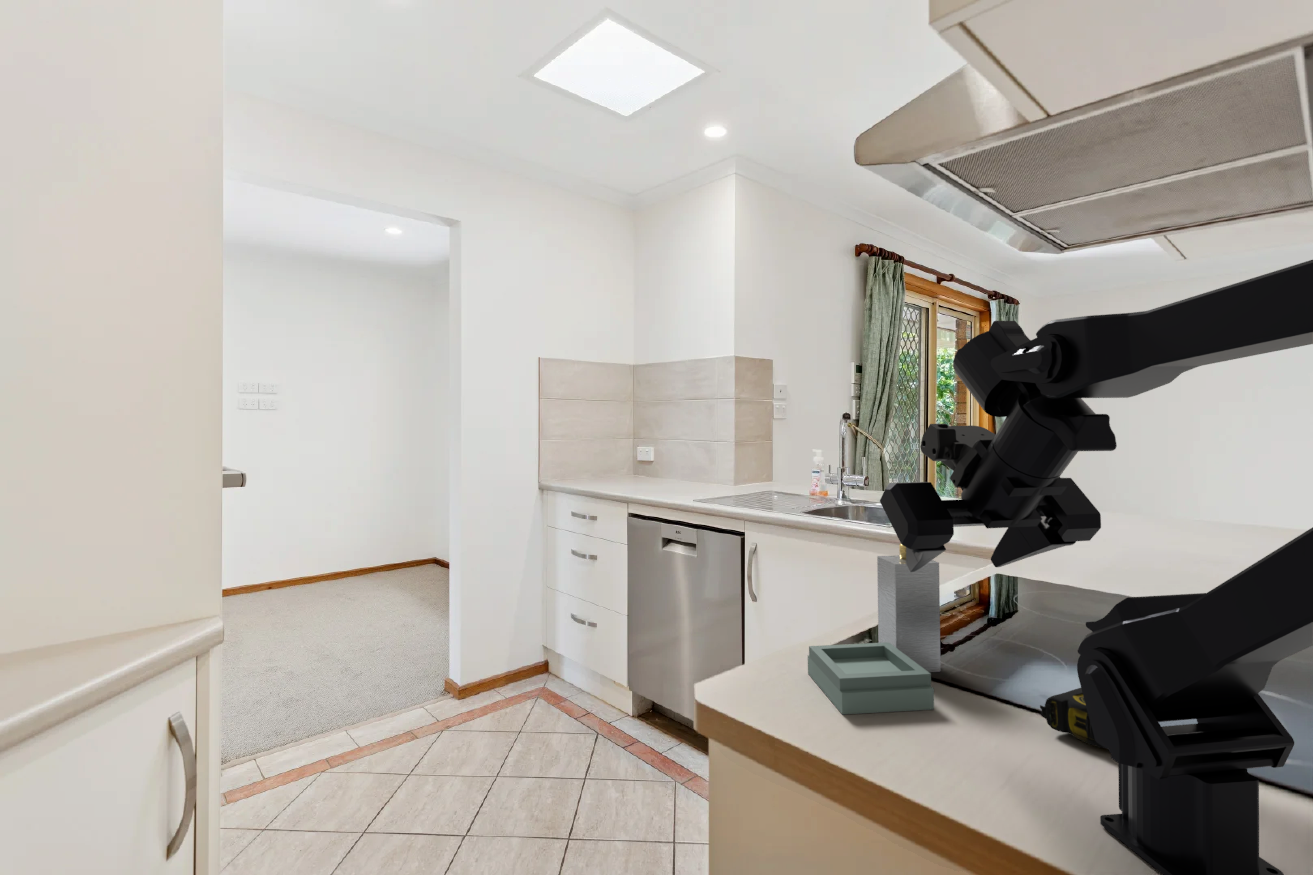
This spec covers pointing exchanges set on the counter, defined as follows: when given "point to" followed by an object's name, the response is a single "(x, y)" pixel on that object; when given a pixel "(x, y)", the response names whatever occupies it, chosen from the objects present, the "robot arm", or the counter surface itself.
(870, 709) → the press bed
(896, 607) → the housing
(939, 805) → the counter surface
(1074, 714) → the tape measure
